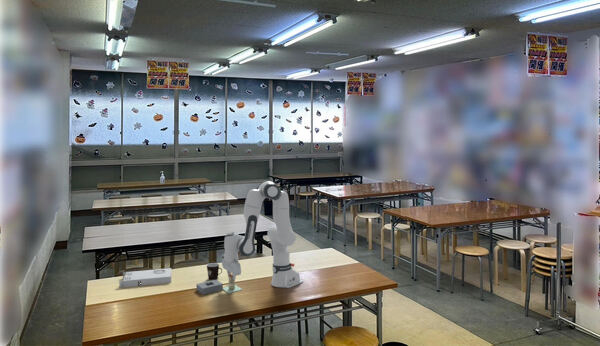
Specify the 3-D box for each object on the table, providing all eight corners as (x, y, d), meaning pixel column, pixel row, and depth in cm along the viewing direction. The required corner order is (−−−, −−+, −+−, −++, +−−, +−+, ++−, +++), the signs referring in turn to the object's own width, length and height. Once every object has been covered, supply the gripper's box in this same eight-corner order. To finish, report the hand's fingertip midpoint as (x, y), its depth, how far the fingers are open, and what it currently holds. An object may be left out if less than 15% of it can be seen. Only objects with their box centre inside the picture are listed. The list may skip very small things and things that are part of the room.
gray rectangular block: (216, 285, 278) (216, 279, 278) (222, 289, 270) (222, 283, 270) (196, 289, 270) (196, 284, 270) (202, 294, 262) (202, 288, 262)
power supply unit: (123, 279, 292) (122, 272, 292) (171, 274, 302) (171, 268, 301) (119, 288, 274) (119, 281, 274) (171, 283, 284) (171, 276, 283)
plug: (233, 286, 274) (233, 273, 273) (236, 288, 270) (236, 275, 270) (227, 287, 271) (227, 274, 270) (230, 289, 268) (230, 276, 267)
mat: (235, 285, 278) (235, 284, 278) (242, 290, 270) (242, 289, 270) (221, 288, 272) (221, 288, 272) (228, 293, 264) (228, 292, 264)
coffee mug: (204, 278, 292) (204, 264, 291) (216, 275, 297) (215, 262, 297) (211, 282, 283) (211, 268, 282) (223, 280, 288) (223, 266, 287)
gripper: (243, 260, 262) (243, 281, 264) (228, 253, 279) (229, 273, 280) (234, 262, 259) (234, 283, 260) (220, 254, 275) (220, 275, 276)
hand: (231, 278), depth 270 cm, fingers open, 4 cm apart
